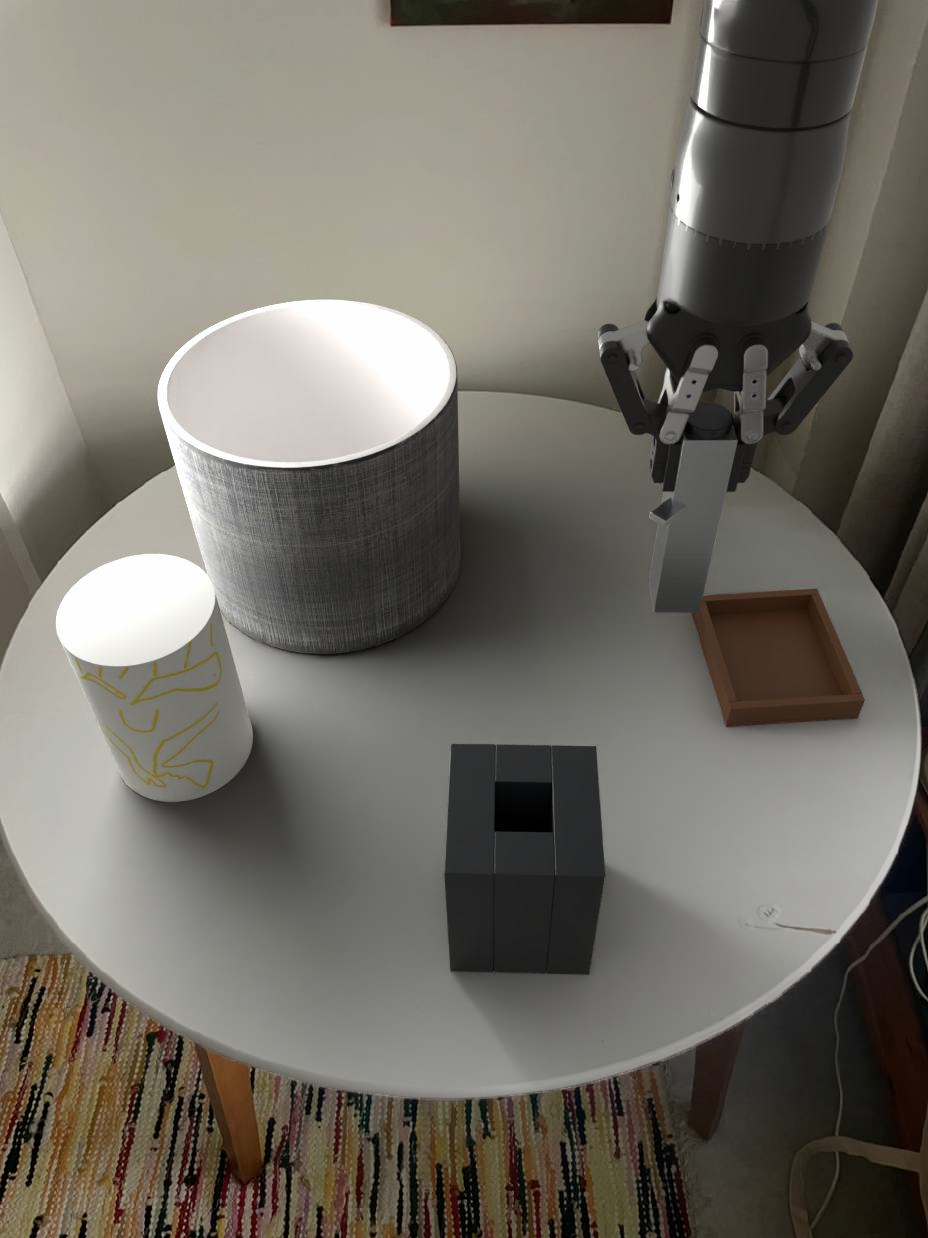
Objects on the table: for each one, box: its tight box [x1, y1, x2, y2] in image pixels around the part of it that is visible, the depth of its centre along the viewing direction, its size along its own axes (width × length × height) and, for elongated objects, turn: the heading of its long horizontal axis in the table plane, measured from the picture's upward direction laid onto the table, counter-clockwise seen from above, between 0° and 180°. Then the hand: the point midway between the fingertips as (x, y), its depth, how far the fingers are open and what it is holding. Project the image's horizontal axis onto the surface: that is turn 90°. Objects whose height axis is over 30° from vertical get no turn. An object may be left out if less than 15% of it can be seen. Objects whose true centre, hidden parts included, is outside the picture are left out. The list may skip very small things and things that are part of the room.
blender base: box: [443, 743, 606, 976], centre depth 72 cm, size 10×10×14 cm
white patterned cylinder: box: [55, 553, 254, 803], centre depth 82 cm, size 12×12×17 cm
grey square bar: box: [648, 401, 738, 614], centre depth 63 cm, size 6×6×15 cm
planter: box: [157, 299, 462, 655], centre depth 96 cm, size 25×25×22 cm
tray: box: [691, 588, 866, 728], centre depth 93 cm, size 14×12×2 cm
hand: (696, 482), depth 61 cm, fingers closed on grey square bar, 3 cm apart
